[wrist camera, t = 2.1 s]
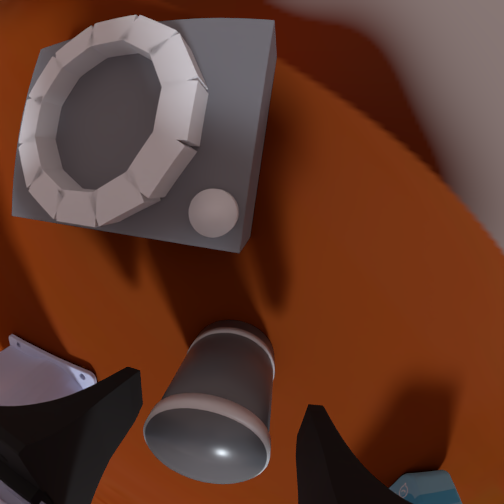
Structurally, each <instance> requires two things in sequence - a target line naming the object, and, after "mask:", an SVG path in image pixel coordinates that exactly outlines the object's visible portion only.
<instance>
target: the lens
mask: <svg viewBox="0 0 504 504" xmlns="http://www.w3.org/2000/svg"><path fill="white" fill-rule="evenodd" d="M274 371H275V363H274V351H273V347H272V345H271V343H270V341H269V339H268V338H267V337H266V335H265V334H264V333H263V332H261V331H260V330H259V329H258V328H256V327H254V326H253V325H251V324H248V323H245V322H242V321H238V320H222V321H218V322H215V323H212V324H210V325H208V326H207V327H205V328H204V329H203V330H202V331H201V332H200V333H199V335H198V336H197V338H196V339H195V340H194V342H193V343H192V345H191V346H190V348H189V350H188V352H187V355H186V357H185V359H184V361H183V362H182V364H181V366H180V368H179V369H178V371H177V373H176V375H175V376H174V378H173V380H172V382H171V383H170V385H169V387H168V389H167V390H166V392H165V394H164V396H163V397H162V399H161V401H159V402H158V403H157V404H156V405H155V407H154V408H153V409H152V411H151V413H150V415H149V416H148V418H147V420H146V422H145V424H144V429H143V431H144V438H145V441H146V443H147V445H148V447H149V448H150V450H151V451H152V452H153V454H154V455H155V456H156V457H157V458H158V459H159V460H160V461H161V462H162V463H163V464H165V465H166V466H167V467H169V468H170V469H172V470H174V471H175V472H177V473H179V474H181V475H184V476H186V477H189V478H192V479H194V480H198V481H202V482H207V483H215V484H231V483H238V482H243V481H246V480H249V479H251V478H253V477H255V476H257V475H258V474H260V473H261V472H262V471H263V470H264V469H265V468H266V467H267V465H268V463H269V459H270V449H271V438H270V434H269V427H270V414H271V400H272V386H273V379H274Z"/></svg>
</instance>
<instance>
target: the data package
mask: <svg viewBox="0 0 504 504" xmlns="http://www.w3.org/2000/svg"><path fill="white" fill-rule="evenodd" d="M389 489H390V490H391V491H393V492H394V493H396V494H397V495H399V496H400V497H402V498H403V499H405V500H407V501H409V502H411V503H413V504H462V502H461V500H460V497H459V495H458V493H457V490H456V488H455V486H454V483H453V481H452V479H451V477H450V475H449V473H448V472H447V471H445V470H436V471H428V472H417V473H406V474H404V475H402V476H401V477H400V478H399V479H398V480H397V481H396V482H395V483H394V484H393V485H392V486H391V487H390V488H389Z"/></svg>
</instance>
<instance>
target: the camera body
mask: <svg viewBox="0 0 504 504" xmlns="http://www.w3.org/2000/svg"><path fill="white" fill-rule="evenodd" d="M276 58H277V57H276V40H275V22H274V20H263V19H246V18H245V19H244V18H198V19H181V20H169V21H160V22H157V21H154V20H152V19H149V18H147V17H145V16H142V15H139V16H137V15H131V16H125V17H120V18H116V19H111V20H107V21H103V22H99V23H95V25H94V27H93V26H92V25H91V26H90V27H88V28H87V29H85V30H84V31H83V32H81V33H80V34H79V35H77V36H76V37H75V38H73V39H71V40H67V41H64V42H61V43H58V44H55V45H52V46H49V47H46V48H43V49H41V51H40V54H39V57H38V60H37V63H36V66H35V69H34V73H33V76H32V80H31V83H30V87H29V91H28V95H27V99H26V103H25V107H24V112H23V117H22V122H21V127H20V133H19V139H18V145H17V152H16V160H15V170H14V181H13V197H12V216H17V217H23V218H29V219H35V220H41V221H47V222H53V223H59V224H65V225H71V226H77V227H83V228H89V229H95V230H101V231H107V232H113V233H119V234H125V235H131V236H137V237H143V238H149V239H155V240H161V241H167V242H173V243H180V244H186V245H192V246H198V247H204V248H210V249H216V250H222V251H229V252H235V253H240V252H241V250H242V249H243V247H244V246H245V244H246V243H247V241H248V240H249V238H250V235H251V228H252V221H253V214H254V207H255V200H256V193H257V186H258V179H259V173H260V166H261V159H262V152H263V145H264V138H265V132H266V125H267V118H268V111H269V105H270V98H271V91H272V85H273V78H274V71H275V65H276Z"/></svg>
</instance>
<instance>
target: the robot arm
mask: <svg viewBox="0 0 504 504" xmlns="http://www.w3.org/2000/svg"><path fill="white" fill-rule="evenodd" d="M9 342H10V346H9V347H7V348H6V349H4V350H3V351H1V352H0V504H91V501H92V499H93V496H94V493H95V491H96V488H97V486H98V484H99V481H100V479H101V477H102V475H103V472H104V470H105V468H106V466H107V464H108V462H109V460H110V458H111V457H112V455H113V453H114V452H115V450H116V449H117V447H118V446H119V444H120V443H121V441H122V440H123V438H124V437H125V435H126V434H127V432H128V431H129V429H130V428H131V426H132V425H133V423H134V422H135V420H136V418H137V416H138V413H139V411H140V409H141V407H142V404H143V401H142V390H141V377H140V370H137V369H134V368H130V367H126V368H124V369H122V370H120V371H119V372H117V373H115V374H113V375H111V376H109V377H108V378H106V379H104V380H102V381H100V382H98V383H97V380H96V377H95V375H94V374H93V373H92V372H91V371H88V370H86V369H84V368H81V367H79V366H76V365H74V364H72V363H70V362H67V361H65V360H63V359H61V358H58V357H56V356H54V355H52V354H50V353H48V352H46V351H44V350H42V349H40V348H38V347H36V346H34V345H32V344H30V343H28V342H26V341H24V340H22V339H21V338H19V337H17V336H15V335H13V334H11V335H10V336H9ZM296 467H297V482H298V504H413V503H411V502H409V501H407V500H405V499H403V498H402V497H400V496H399V495H397V494H396V493H394V492H393V491H391V490H390V489H389V488H387V487H386V486H385V485H384V484H382V483H381V482H380V481H379V480H378V479H376V478H375V477H374V476H373V475H372V474H371V473H370V472H369V471H368V470H367V469H366V468H365V467H364V466H363V465H362V464H361V463H360V461H359V460H358V459H357V458H356V457H355V455H354V454H353V453H352V451H351V450H350V449H349V447H348V446H347V445H346V443H345V442H344V440H343V439H342V437H341V436H340V434H339V432H338V431H337V429H336V428H335V426H334V424H333V422H332V421H331V419H330V417H329V415H328V414H327V412H326V410H325V408H324V407H323V406H321V405H309V404H308V407H307V410H306V413H305V416H304V419H303V421H302V424H301V427H300V429H299V432H298V435H297V444H296Z"/></svg>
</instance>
